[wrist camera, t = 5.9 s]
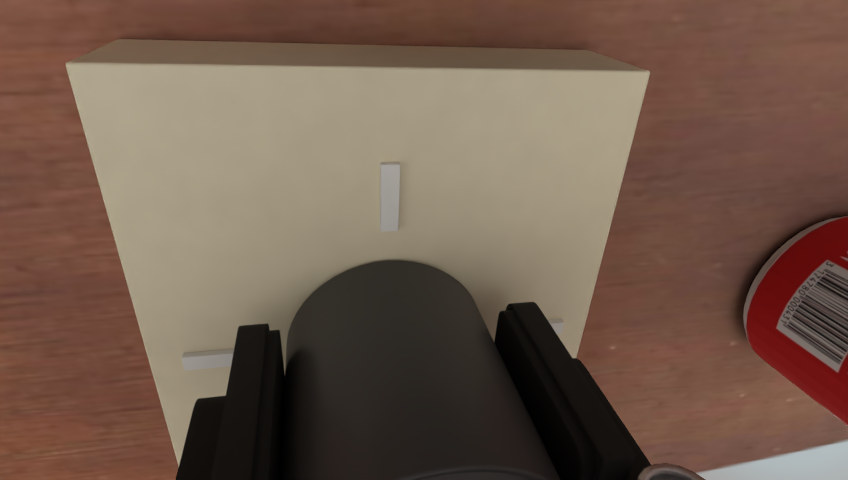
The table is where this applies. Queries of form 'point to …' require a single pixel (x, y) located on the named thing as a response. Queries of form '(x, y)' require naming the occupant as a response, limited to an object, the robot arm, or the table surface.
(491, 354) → the knob
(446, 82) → the panel
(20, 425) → the table surface
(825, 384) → the beverage can
